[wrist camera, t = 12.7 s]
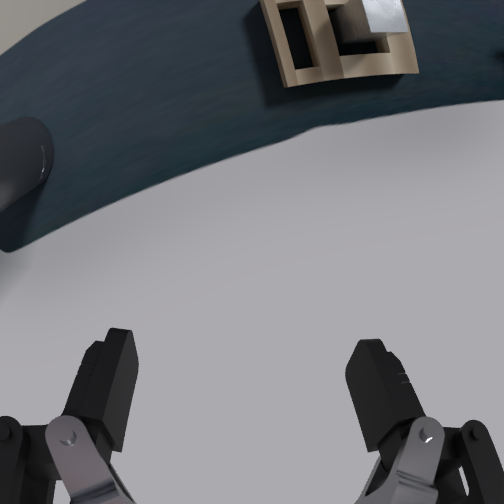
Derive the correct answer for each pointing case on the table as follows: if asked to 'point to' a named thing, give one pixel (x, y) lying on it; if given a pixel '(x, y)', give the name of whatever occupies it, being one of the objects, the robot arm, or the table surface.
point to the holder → (332, 46)
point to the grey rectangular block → (367, 21)
